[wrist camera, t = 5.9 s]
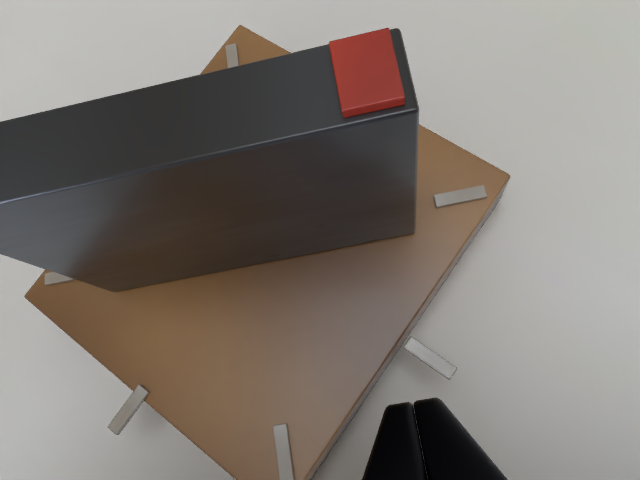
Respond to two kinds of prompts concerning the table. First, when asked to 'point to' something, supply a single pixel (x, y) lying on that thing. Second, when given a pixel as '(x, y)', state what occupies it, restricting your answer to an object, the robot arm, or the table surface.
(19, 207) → the dark grey block
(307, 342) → the brown piece
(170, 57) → the table surface
